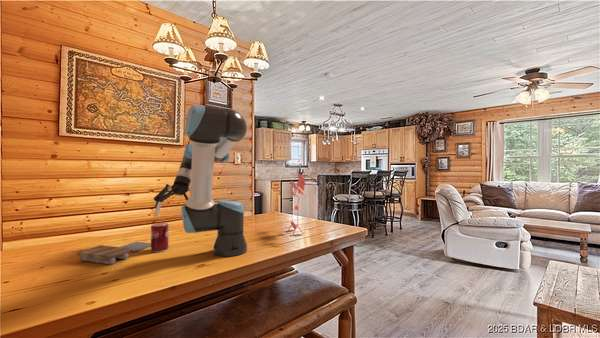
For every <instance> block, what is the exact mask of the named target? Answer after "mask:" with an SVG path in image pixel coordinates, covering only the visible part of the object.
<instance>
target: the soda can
mask: <svg viewBox="0 0 600 338" xmlns="http://www.w3.org/2000/svg"><path fill="white" fill-rule="evenodd" d="M169 226H170V225H169V224H168V223H167V222H158V223H153V224H151V225H150V243H151V247H150V251H151V252H152V253H163V252H166V251H168V250H169V242H170V241H169V228H170V227H169Z"/></svg>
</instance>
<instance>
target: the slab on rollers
mask: <svg viewBox="0 0 600 338" xmlns="http://www.w3.org/2000/svg"><path fill="white" fill-rule="evenodd" d="M76 253H77V257H78V258H79V261H83V262H90V263H98V264H106V265H114V264H115V263H116V260H117V259H118V260H119V259H120V260H128V259H129V256H130V255H129V253H131V252H130V248H121V246H112V245H102V244H101V245H98V246H95V247H91V248H88V249H84V250H80V251H77V252H76Z"/></svg>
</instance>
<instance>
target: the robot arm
mask: <svg viewBox="0 0 600 338" xmlns="http://www.w3.org/2000/svg"><path fill="white" fill-rule="evenodd" d="M247 129H248V127H247V122H246V120H245V118H244V117H243V115H241V113H239V112H238V111H236V110H234V109H232V108H226V107H225V108H223V107H217V106H215V107H214V106H210V105H209V106H208V105H207V106H206V105H192V106H190V107H189V108H188V111H187V114H186V117H185V124H184V134H185V135H186V136H188V140H189V141H190V143H189V144H187V145H186V146H185V149H184V150H183V151H184V152H183V156H182V160H181V163H180V165H179V168H178V171H177V172H176V177H175V178H174V181H173V184H172V185H170V184H169V183H166V185H165V186H164V187H163V188H162V190H160V191H159V192H158V193H157V194H156V195H155V196H154V197H153V200H154V202H155V206H154V209H155V210H154V212H153V215H154V216H155V217H158V215H159V213H160V210H161V208H162V204H163V203H164V201H166V200H168V198H170V197H172V196H174V195H175V196H180V197H181V196H182V197H184V199H185V205H182V206H181V207H180V208H181V209H180V210H181V211H180V213H181V219H182V225H183V229H184V232H185V233H187V234H192V233H193V234H194V233H195V234H197V233H203V232H204V233H205V232H211V231H213V232H214V231H217V236H216V240H215V241H214V245H213V247H212V248H213V250H212V251H213V252H212V253H213V254H214V255H215V256H219V257H235V256H240V255H243V254H245V253H247V251H248V243H247V241H246V238H245V235H244V225H245V224H244V220H245V219H244V218H245V217H244V216H245V215H244V214H245V212H244V205H243V203H242V202H239V201H237V200H236V201H235V200H229V199H228V200H227V199H225V200H223V199H219V200H217V202H216V203H215V201H214V199H212V194H213V181H214V169H215V163H226V162H227V163H228V161H229V158H230V151H231V150H232V149H233V147H234V146H235V145H236V143H238V142H241V141H242V140H243V139H244V137H245V136H246V134H247V131H248V130H247ZM188 192H189V197H188V194H187V193H188Z"/></svg>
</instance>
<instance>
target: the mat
mask: <svg viewBox="0 0 600 338" xmlns="http://www.w3.org/2000/svg"><path fill="white" fill-rule="evenodd" d="M120 247H121V248H130V252H129V253H137V251H138V252H140V251H143V250H145V248H146V249H148V247H149V248H151V242H143V241H133V242H131V243H128V244H125V245H122V246H120ZM142 249H143V250H142Z"/></svg>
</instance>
